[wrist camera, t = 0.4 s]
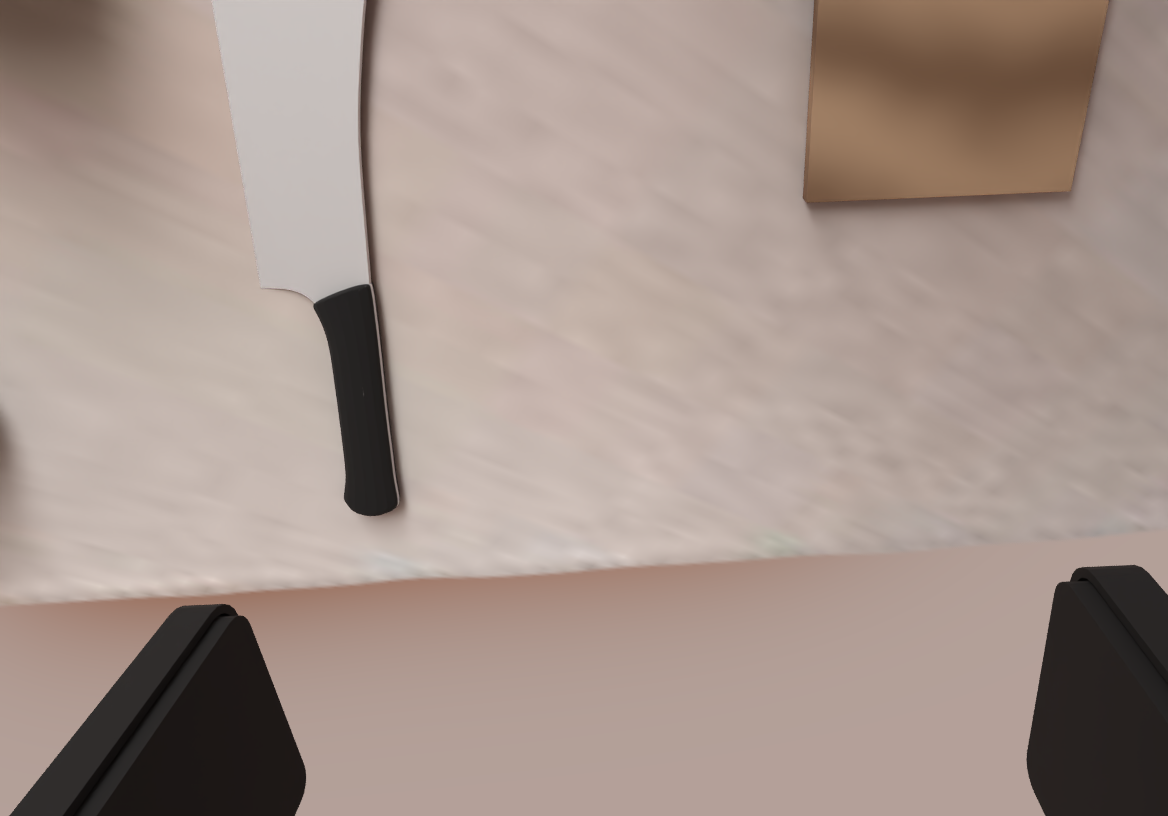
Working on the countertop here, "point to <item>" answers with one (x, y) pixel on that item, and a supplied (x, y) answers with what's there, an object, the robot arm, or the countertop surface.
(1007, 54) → the board
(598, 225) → the countertop surface
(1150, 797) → the robot arm
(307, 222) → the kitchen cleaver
